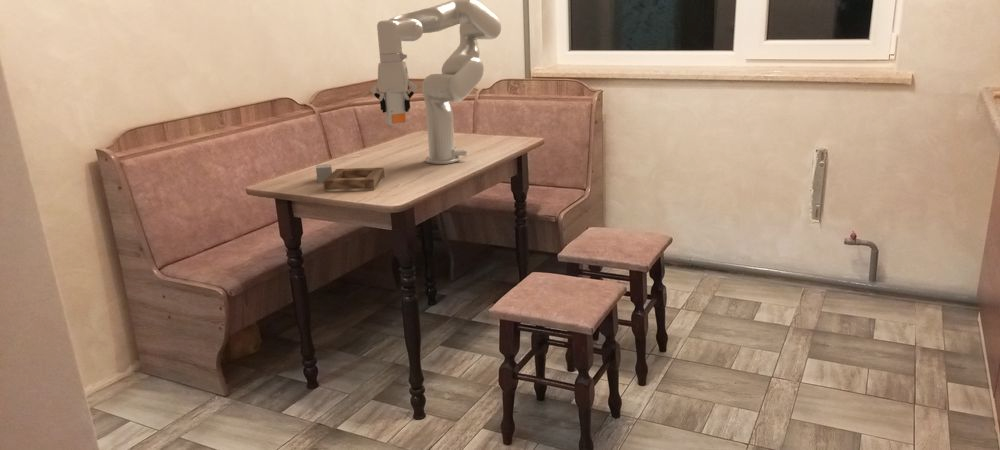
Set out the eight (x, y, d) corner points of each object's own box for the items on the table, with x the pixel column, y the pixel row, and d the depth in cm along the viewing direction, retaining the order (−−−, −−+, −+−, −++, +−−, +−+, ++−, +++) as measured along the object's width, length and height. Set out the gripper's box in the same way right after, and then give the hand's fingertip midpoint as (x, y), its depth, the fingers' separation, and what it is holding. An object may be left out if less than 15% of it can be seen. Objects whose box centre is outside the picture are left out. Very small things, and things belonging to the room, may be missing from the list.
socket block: (384, 177, 258) (383, 167, 257) (374, 190, 242) (373, 179, 241) (337, 178, 259) (336, 168, 258) (324, 191, 243) (323, 180, 242)
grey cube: (332, 178, 260) (331, 164, 259) (332, 181, 256) (331, 167, 254) (317, 179, 259) (316, 165, 258) (317, 182, 255) (316, 168, 253)
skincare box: (390, 126, 257) (387, 90, 254) (386, 124, 261) (383, 89, 257) (407, 123, 260) (404, 88, 256) (403, 122, 263) (400, 87, 260)
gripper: (418, 56, 257) (422, 109, 262) (367, 58, 258) (372, 110, 263) (415, 58, 250) (419, 112, 255) (363, 60, 251) (368, 114, 256)
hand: (395, 111), depth 259 cm, fingers closed on skincare box, 7 cm apart
